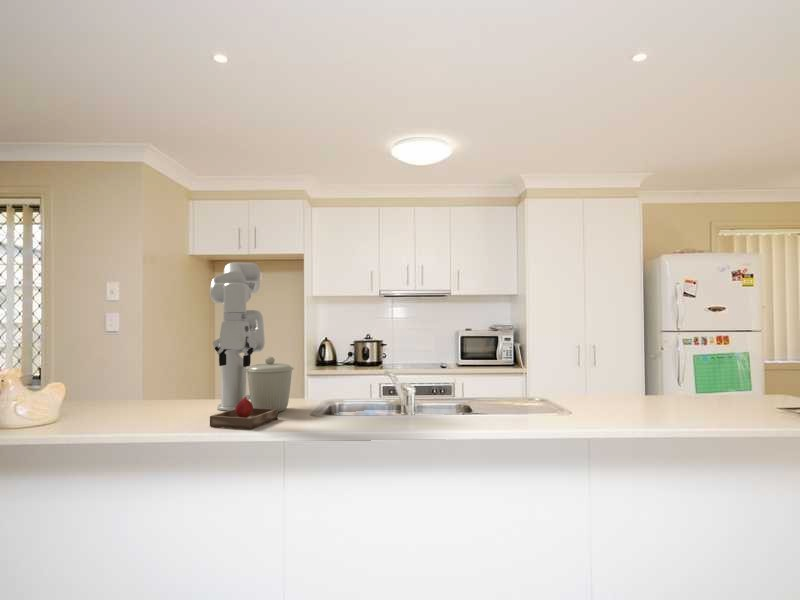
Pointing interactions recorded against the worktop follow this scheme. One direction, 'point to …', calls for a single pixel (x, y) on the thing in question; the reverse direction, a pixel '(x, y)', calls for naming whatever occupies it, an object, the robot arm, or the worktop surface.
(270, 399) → the canister
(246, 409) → the onion
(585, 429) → the worktop surface
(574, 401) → the worktop surface
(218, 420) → the walnut tray
